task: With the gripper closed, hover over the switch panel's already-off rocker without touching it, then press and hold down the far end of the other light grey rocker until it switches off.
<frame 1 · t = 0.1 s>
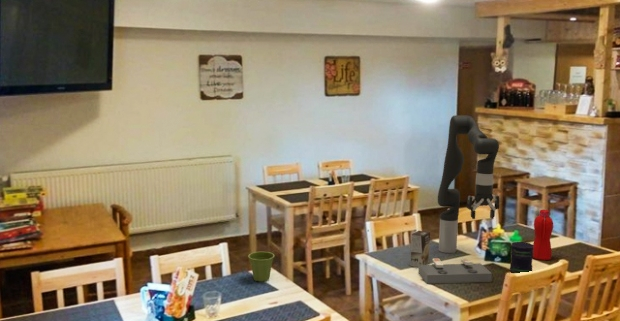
hand: (482, 218, 273), 29 cm above the table, tool pointing down, fingers open, 8 cm apart
rocker off: (437, 262, 283), point 6 cm above the table, hinge at 7.0°
switch panel: (454, 277, 281), on the table
coffee box: (419, 265, 299), on the table
water bottle: (541, 258, 310), on the table
plant pot: (261, 279, 277), on the table
rocker on: (466, 262, 285), point 6 cm above the table, hinge at -7.0°
storage jar: (520, 276, 285), on the table
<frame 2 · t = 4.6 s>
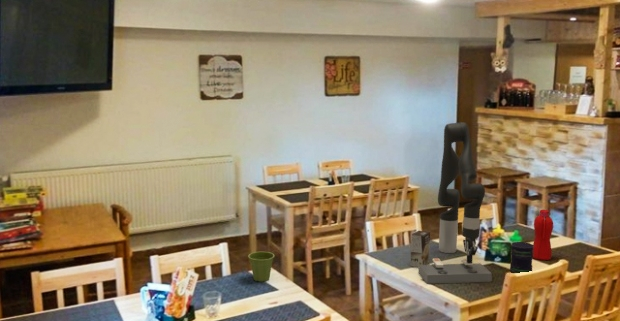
hand: (469, 262, 281), 7 cm above the table, tool pointing down, fingers closed
rocker on: (466, 262, 285), point 6 cm above the table, hinge at -7.0°, touching gripper
everything else where it was.
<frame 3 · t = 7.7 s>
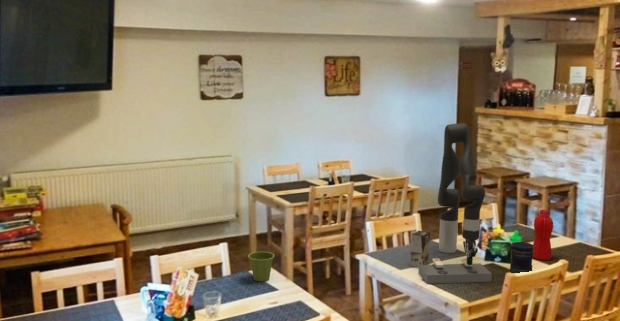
hand: (469, 264, 281), 6 cm above the table, tool pointing down, fingers closed
rocker on: (466, 262, 285), point 6 cm above the table, hinge at 2.3°, touching gripper
everything else where it was.
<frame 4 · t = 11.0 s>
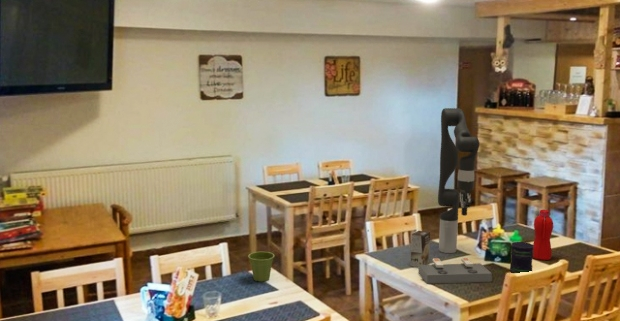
hand: (464, 215, 288), 27 cm above the table, tool pointing down, fingers closed
rocker on: (466, 262, 285), point 6 cm above the table, hinge at 5.1°
everything else where it was.
at the end: rocker on at +5° (first picture: -7°); rocker off at +7° (first picture: +7°) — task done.
